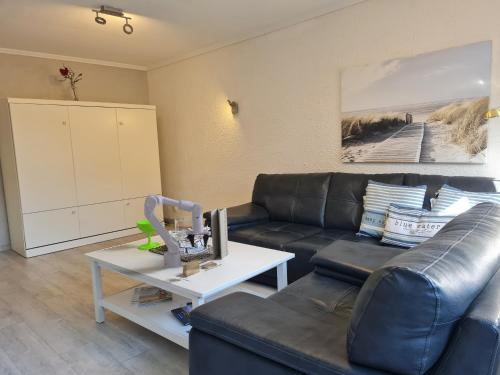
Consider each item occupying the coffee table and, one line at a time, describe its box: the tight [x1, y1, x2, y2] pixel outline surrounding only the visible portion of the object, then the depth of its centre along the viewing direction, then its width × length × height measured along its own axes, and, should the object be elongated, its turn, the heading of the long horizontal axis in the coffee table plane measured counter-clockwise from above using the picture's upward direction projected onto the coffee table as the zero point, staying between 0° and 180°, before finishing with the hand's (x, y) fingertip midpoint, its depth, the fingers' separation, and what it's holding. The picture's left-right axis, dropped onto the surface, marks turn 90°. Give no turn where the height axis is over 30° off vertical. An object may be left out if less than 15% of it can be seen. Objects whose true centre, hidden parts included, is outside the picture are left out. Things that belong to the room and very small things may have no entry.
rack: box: [199, 260, 222, 272], centre depth 205 cm, size 12×15×2 cm
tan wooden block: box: [181, 259, 201, 278], centre depth 192 cm, size 3×9×7 cm, turn 141°
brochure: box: [210, 207, 229, 260], centre depth 222 cm, size 14×6×30 cm, turn 168°
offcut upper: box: [201, 261, 218, 270], centre depth 204 cm, size 4×8×1 cm, turn 150°
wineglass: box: [136, 219, 163, 251], centre depth 254 cm, size 16×16×18 cm
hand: (199, 247), depth 210 cm, fingers open, 7 cm apart
